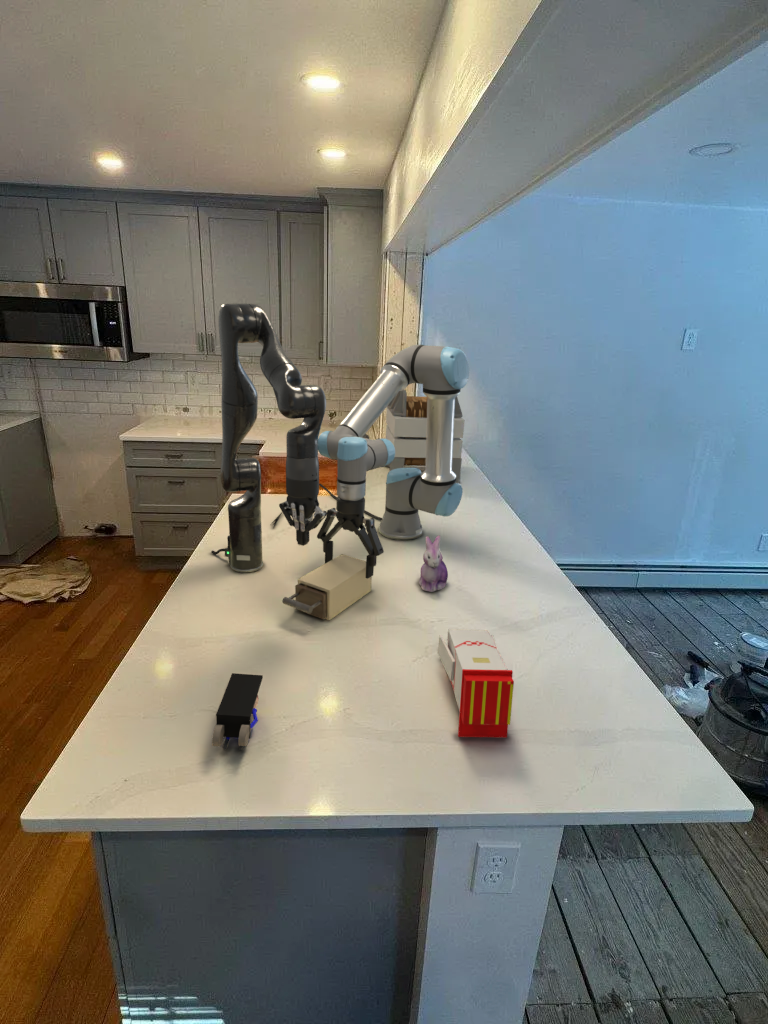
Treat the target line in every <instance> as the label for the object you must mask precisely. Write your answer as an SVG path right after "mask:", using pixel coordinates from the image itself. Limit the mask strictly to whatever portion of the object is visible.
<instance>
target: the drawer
mask: <svg viewBox="0 0 768 1024" xmlns="http://www.w3.org/2000/svg"><path fill="white" fill-rule="evenodd" d="M281 603H282V604H283V605H286V606H288V607H291V608H294V609H295V610H298V611H300V612H302V613H305V614H308V615H310V616H313V617H316V618H318V619H320V620H326V619H325V618H326V613H327V592H325V591H322V590H319V589H316V588H313V587H311V586H308V585H305V584H304V586H303V585H300V584H298V583H297V584H296V585H295V586H294V594H292V595H291V596H289V597H287V596H284V597H283V598H282V602H281Z"/></svg>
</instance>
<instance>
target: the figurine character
mask: <svg viewBox="0 0 768 1024" xmlns="http://www.w3.org/2000/svg"><path fill="white" fill-rule="evenodd" d="M263 677H264V675H263V674H252V673H251V674H250V673H237V672H235V673H234V672H232V673H231V675H230V677H229V680H228V682H227V685H226V688H225V690H224V693H223V696H222V698H221V700H220V703H219V706H218V709H217V711H216V713H215V721H216V724H215V726H214V729H213V733H212V736H211V737H212V738H211V745H212V747H221V746H222V749H223V751H226V750H227V749H228V747H229V744H230V739H231V738H232V739H237V741H238V750H239V751H241V750H243V749H244V747H247V745H248V743H249V740H250V739H251V735H252V734H251V733H252V729H253V728H254V727H255V725H256V724H257V723H258V721H259V719H258V716H257V715H258V714H257V713H258V709H257V706H258V704H259V692H260V688H261V684H262V682H263V679H264V678H263ZM251 718H253V720H252V719H251ZM223 741H224V742H223ZM222 744H223V745H222Z"/></svg>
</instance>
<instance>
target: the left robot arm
mask: <svg viewBox="0 0 768 1024" xmlns="http://www.w3.org/2000/svg"><path fill="white" fill-rule="evenodd" d="M218 312H219V313H218V335H219V347H220V360H221V397H220V398H221V400H220V401H221V428H222V429H221V431H222V441H221V455H220V456H221V457H220V483H221V487H222V488H223V490H224V491H225V492H226V493H227V492H228V493H235V492H244V493H243V494H242V495H241V496H238V497H237V498H235V499H232V500H231V501H229V503H228V505H227V515H228V531H229V534H228V535H227V537H226V539H227V547H225V548H220V549H218V550H216V551H215V550H211V552H210V553H211V554H213V555H218V554H220V553H221V552H224V557H226V558H228V566H229V567H230V569H231V570H232V571H235V572H237V573H253V572H256V571H260V570H261V569H262V568H263V567H264V561H263V534H262V533H263V531H262V468H261V467H262V466H261V463H260V461H259V460H258V459H257V458H256V457H242V458H241V457H239V458H236V457H237V454H238V450H239V448H240V446H241V444H242V442H243V440H245V438H246V436H248V434H249V433H250V432H251V430H252V428H253V427H254V425H255V424H256V421H257V419H258V407H259V406H258V404H259V401H258V400H259V398H258V397H259V395H258V391H257V388H256V386H255V385H254V383H253V381H252V380H251V378H250V377H249V375H248V373H247V372H246V370H245V369H244V368H243V365H242V363H241V361H240V356H239V350H238V347H239V344H254V343H258V344H260V345H261V346H262V348H261V351H260V356H259V366H260V370H261V372H262V374H263V376H264V377H265V379H266V380H267V382H268V383H269V385H270V386H271V387H272V390H273V394H274V396H275V400H276V405H277V409H278V411H279V414H281V415H282V416H283V417H284V418H286V419H289V420H297V419H302V422H301V423H300V424H299V425H298V426H296V427H293V428H290V429H288V431H286V432H287V433H286V460H285V493H286V495H287V496H286V500H285V501H283V502H281V503H279V504H278V507H279V508H280V510H281V513H282V514H283V516H284V518H285V519H286V521H287V523H288V526H291V527H292V526H293V527H294V530H295V535H296V536H295V537H296V538H295V541H296V542H297V545H299V546H302V547H303V546H306V545H308V544H309V542H310V532H311V531H312V530H314V529H317V528H318V526H319V525H320V524H321V522H322V521H324V520H325V519H326V516H327V510H322V509H321V508H320V502H319V499H318V496H319V493H320V485H319V484H320V462H319V451H318V438H319V436H320V432H321V429H322V424H323V422H324V417H325V414H326V410H327V397H326V393H325V391H324V390H323V389H322V387H321V386H319V385H317V384H302V382H303V377H302V374H301V372H300V371H299V369H298V368H297V366H296V365H295V364H294V363H293V361H292V359H290V357H289V356H288V355H287V353H286V351H285V350H284V348H283V346H282V344H281V342H280V340H279V337H278V335H277V333H276V330H275V328H274V326H273V324H272V321H271V320H270V318H269V315H268V314H267V312H266V311H265V310H264V308H263V307H262V306H261V305H259V304H257V303H246V302H245V303H244V302H243V303H238V302H237V303H235V302H233V303H231V302H230V303H223V304H222V305H221V307H220V309H219V311H218Z"/></svg>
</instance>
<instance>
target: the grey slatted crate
mask: <svg viewBox="0 0 768 1024" xmlns="http://www.w3.org/2000/svg"><path fill="white" fill-rule="evenodd" d="M407 394H408V393H407V390H406V389H404V390H402V391H399V392H398V393H397V394H396V396H395V397H394V398H393V400H392V401H391V402H390V403H389V405H388V406H387V407H386V413H385V414H386V415H385V423H386V428H385V438H384V439H388V440H389V441H391V442H392V444H393V445H394V448H395V457H394V460H393V461H392V462H391V463H390V464H388V465H385V466H384V467H388V468H389V471H391V470H394V469H398V468H405V466H406V467H407V466H411V467H412V466H413V467H415V466H416V467H417V466H418V467H426V430H427V396H415V395H414V396H413V395H412V396H411V395H407ZM464 429H465V419H464V418H463V411H462V408H461V405H460V402H459V398H458V396H457V397H456V398H455V412H454V434H453V455H452V471H453V472H454V473H455V474H456V483H459V484H460V483H461V472H462V461H463V460H462V453H463V442H464V441H463V440H462V439H463V438H464V431H465V430H464Z"/></svg>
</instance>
